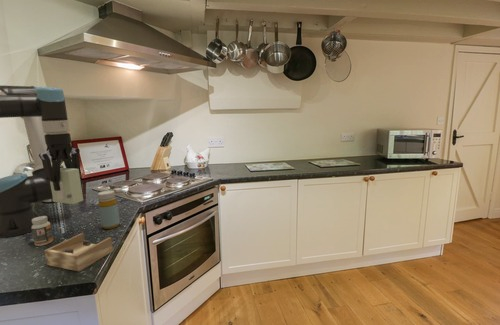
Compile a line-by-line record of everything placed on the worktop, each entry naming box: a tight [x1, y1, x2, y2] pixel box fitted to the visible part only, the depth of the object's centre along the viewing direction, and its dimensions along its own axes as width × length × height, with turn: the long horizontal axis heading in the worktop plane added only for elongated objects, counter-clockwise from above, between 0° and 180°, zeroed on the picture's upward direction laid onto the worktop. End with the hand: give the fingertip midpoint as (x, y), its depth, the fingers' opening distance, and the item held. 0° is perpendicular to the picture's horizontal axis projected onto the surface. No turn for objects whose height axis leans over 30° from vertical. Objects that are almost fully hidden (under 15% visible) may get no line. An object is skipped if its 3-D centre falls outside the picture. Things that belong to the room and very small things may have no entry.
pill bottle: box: [31, 215, 54, 247], centre depth 103 cm, size 6×6×10 cm
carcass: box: [43, 232, 114, 272], centre depth 91 cm, size 14×13×5 cm
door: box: [50, 167, 84, 205], centre depth 100 cm, size 10×5×12 cm, turn 71°
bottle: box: [97, 189, 121, 230], centre depth 116 cm, size 7×7×15 cm
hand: (67, 196), depth 101 cm, fingers closed on door, 4 cm apart
